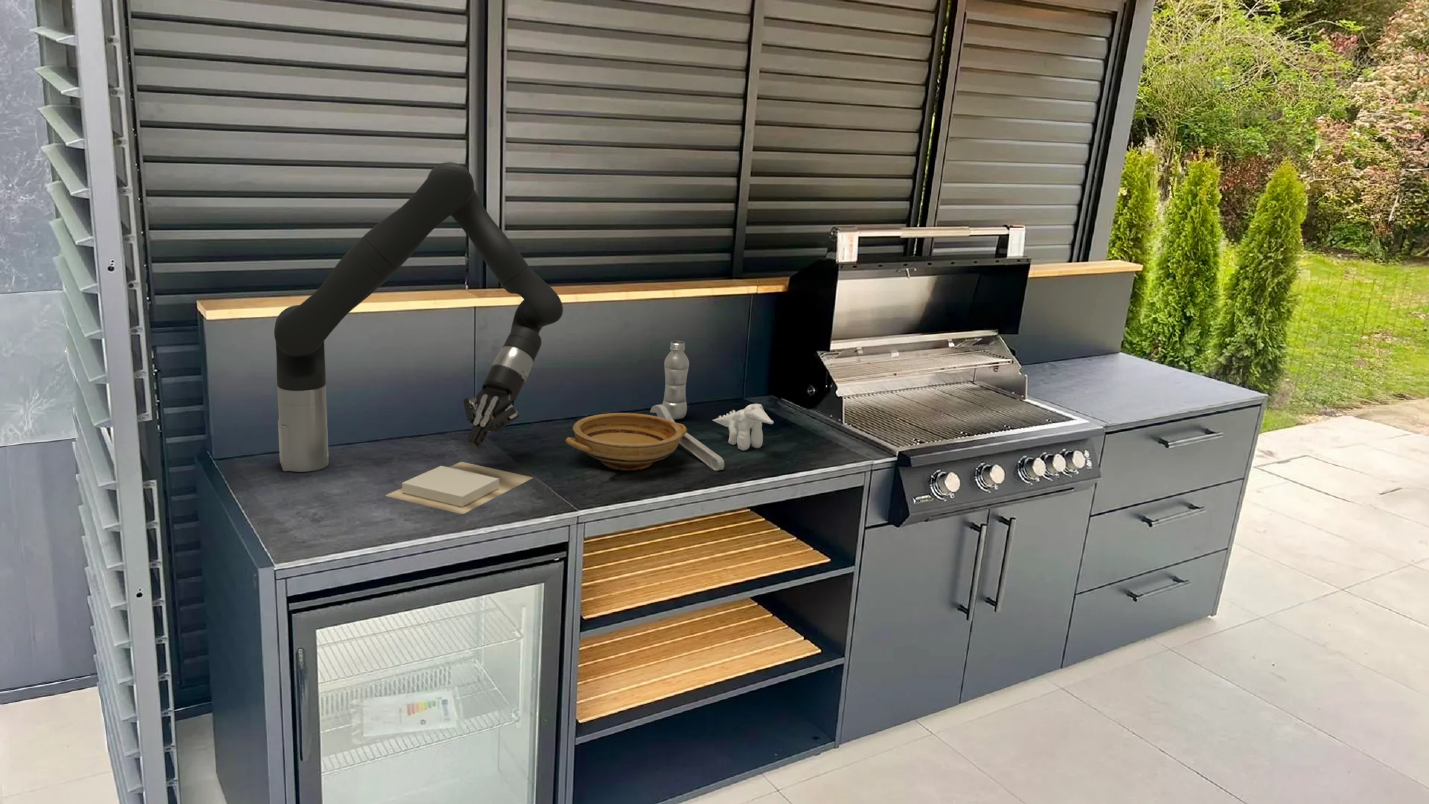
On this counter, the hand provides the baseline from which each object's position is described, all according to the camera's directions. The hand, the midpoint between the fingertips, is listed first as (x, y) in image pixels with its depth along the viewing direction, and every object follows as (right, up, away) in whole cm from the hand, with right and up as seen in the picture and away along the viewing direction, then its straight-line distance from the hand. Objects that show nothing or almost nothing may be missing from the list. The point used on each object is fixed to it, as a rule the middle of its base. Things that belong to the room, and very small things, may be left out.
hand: (472, 444), depth 209 cm
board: (-2, -10, -1) cm, 10 cm away
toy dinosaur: (+54, -2, +42) cm, 69 cm away
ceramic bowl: (+29, -5, +24) cm, 38 cm away
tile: (-1, -6, +1) cm, 7 cm away
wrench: (+41, -3, +34) cm, 54 cm away
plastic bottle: (+38, +4, +59) cm, 71 cm away
